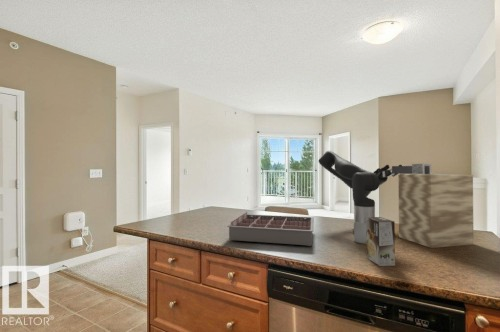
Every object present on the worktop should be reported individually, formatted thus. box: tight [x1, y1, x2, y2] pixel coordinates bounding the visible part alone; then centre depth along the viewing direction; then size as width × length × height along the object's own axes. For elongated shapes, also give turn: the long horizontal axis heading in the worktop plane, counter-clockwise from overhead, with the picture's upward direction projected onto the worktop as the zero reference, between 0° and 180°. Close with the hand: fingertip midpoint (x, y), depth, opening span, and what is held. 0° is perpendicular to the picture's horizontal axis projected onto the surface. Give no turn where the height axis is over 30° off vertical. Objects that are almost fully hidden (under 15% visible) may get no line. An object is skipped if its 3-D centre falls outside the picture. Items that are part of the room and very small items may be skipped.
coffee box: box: [366, 216, 396, 267], centre depth 95 cm, size 9×6×16 cm
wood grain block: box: [397, 173, 475, 249], centre depth 123 cm, size 18×24×32 cm
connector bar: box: [391, 163, 432, 175], centre depth 130 cm, size 20×5×5 cm, turn 13°
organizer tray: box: [226, 211, 315, 246], centre depth 131 cm, size 32×40×10 cm
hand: (395, 166), depth 139 cm, fingers open, 8 cm apart
